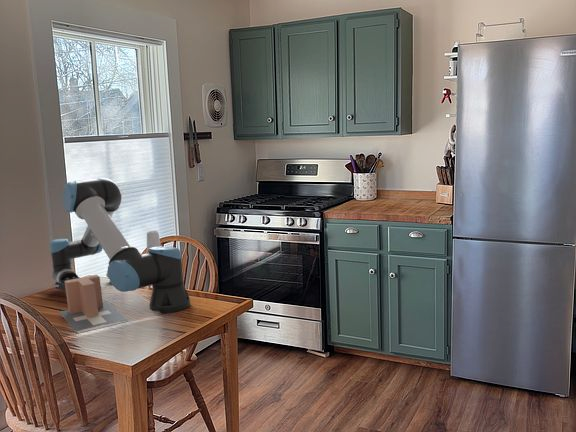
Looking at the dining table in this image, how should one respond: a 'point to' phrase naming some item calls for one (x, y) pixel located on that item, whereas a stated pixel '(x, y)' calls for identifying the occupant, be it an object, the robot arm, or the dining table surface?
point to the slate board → (93, 318)
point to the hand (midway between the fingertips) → (80, 290)
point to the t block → (84, 295)
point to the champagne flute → (153, 240)
